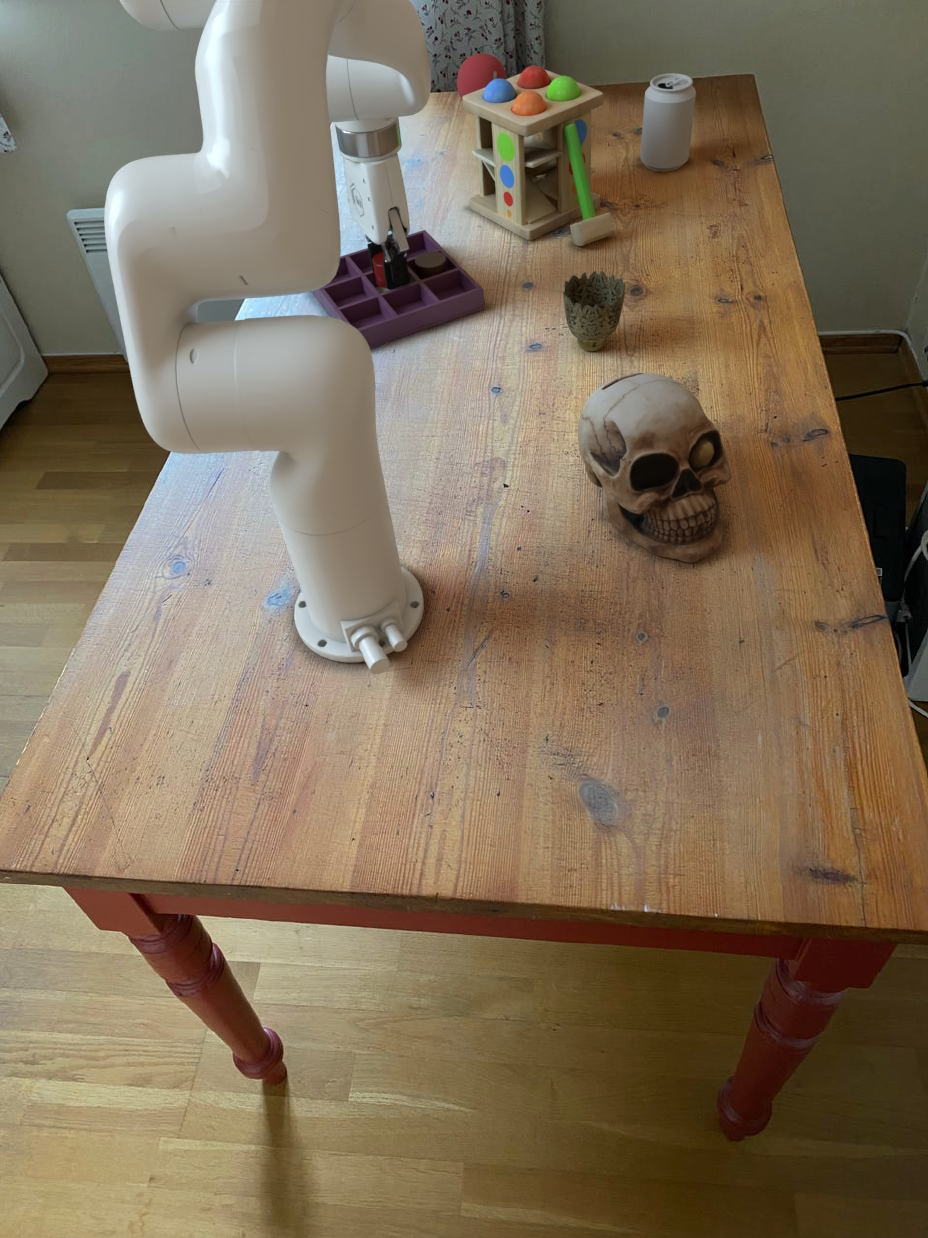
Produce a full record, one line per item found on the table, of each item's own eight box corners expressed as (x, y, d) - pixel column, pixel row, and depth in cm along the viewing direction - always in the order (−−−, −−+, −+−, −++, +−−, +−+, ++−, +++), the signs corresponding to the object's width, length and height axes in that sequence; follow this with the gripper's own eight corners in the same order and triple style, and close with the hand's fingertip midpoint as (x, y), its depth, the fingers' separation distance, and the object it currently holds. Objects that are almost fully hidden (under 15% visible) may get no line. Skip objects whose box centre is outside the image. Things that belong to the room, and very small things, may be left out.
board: (484, 309, 119) (483, 288, 116) (356, 353, 115) (352, 333, 112) (427, 249, 130) (424, 229, 127) (308, 287, 126) (303, 267, 123)
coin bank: (706, 571, 86) (712, 459, 77) (547, 531, 94) (534, 425, 85) (756, 476, 95) (768, 365, 86) (606, 447, 103) (601, 342, 93)
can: (630, 160, 142) (636, 77, 133) (670, 148, 144) (678, 65, 135) (656, 178, 138) (663, 94, 128) (697, 165, 139) (707, 81, 130)
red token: (412, 282, 119) (408, 259, 117) (383, 291, 118) (379, 269, 116) (399, 268, 122) (396, 246, 119) (371, 277, 121) (367, 255, 119)
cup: (618, 364, 109) (622, 305, 103) (558, 361, 110) (559, 302, 104) (624, 329, 113) (628, 271, 107) (566, 326, 115) (567, 268, 108)
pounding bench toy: (642, 226, 129) (652, 92, 115) (568, 263, 124) (570, 128, 110) (538, 176, 141) (537, 49, 127) (468, 208, 136) (458, 80, 123)
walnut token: (452, 283, 122) (450, 261, 120) (425, 292, 121) (422, 270, 119) (440, 269, 125) (437, 248, 122) (412, 278, 124) (410, 257, 121)
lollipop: (457, 165, 146) (448, 63, 134) (470, 144, 150) (463, 44, 139) (502, 168, 144) (497, 65, 132) (514, 147, 148) (511, 45, 137)
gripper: (315, 119, 110) (342, 258, 124) (366, 171, 100) (389, 315, 114) (371, 103, 111) (391, 242, 126) (426, 153, 102) (442, 298, 116)
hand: (390, 276), depth 120 cm, fingers closed on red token, 4 cm apart
